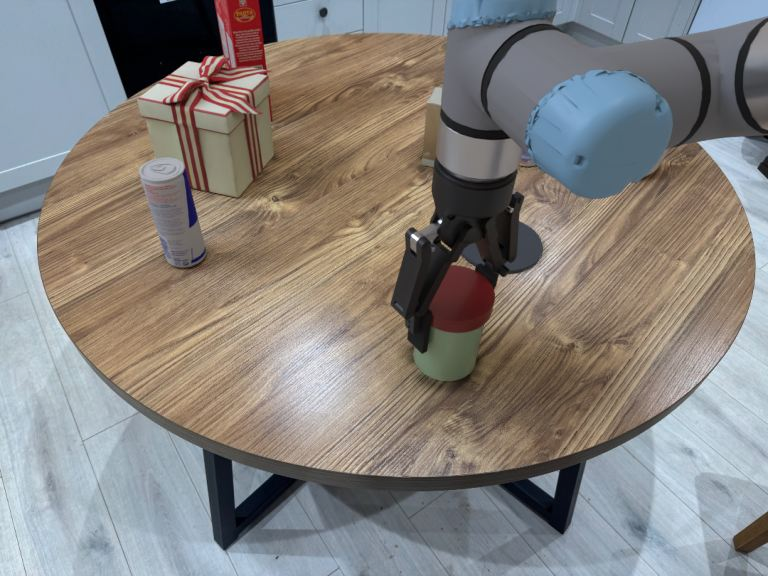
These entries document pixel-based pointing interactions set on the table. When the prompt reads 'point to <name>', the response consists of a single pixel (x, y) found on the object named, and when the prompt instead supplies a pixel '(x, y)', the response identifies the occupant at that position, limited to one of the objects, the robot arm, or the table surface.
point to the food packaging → (241, 34)
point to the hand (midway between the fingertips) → (448, 326)
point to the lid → (462, 301)
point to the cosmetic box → (431, 127)
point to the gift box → (212, 123)
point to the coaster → (526, 251)
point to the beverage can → (173, 211)
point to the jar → (449, 354)
